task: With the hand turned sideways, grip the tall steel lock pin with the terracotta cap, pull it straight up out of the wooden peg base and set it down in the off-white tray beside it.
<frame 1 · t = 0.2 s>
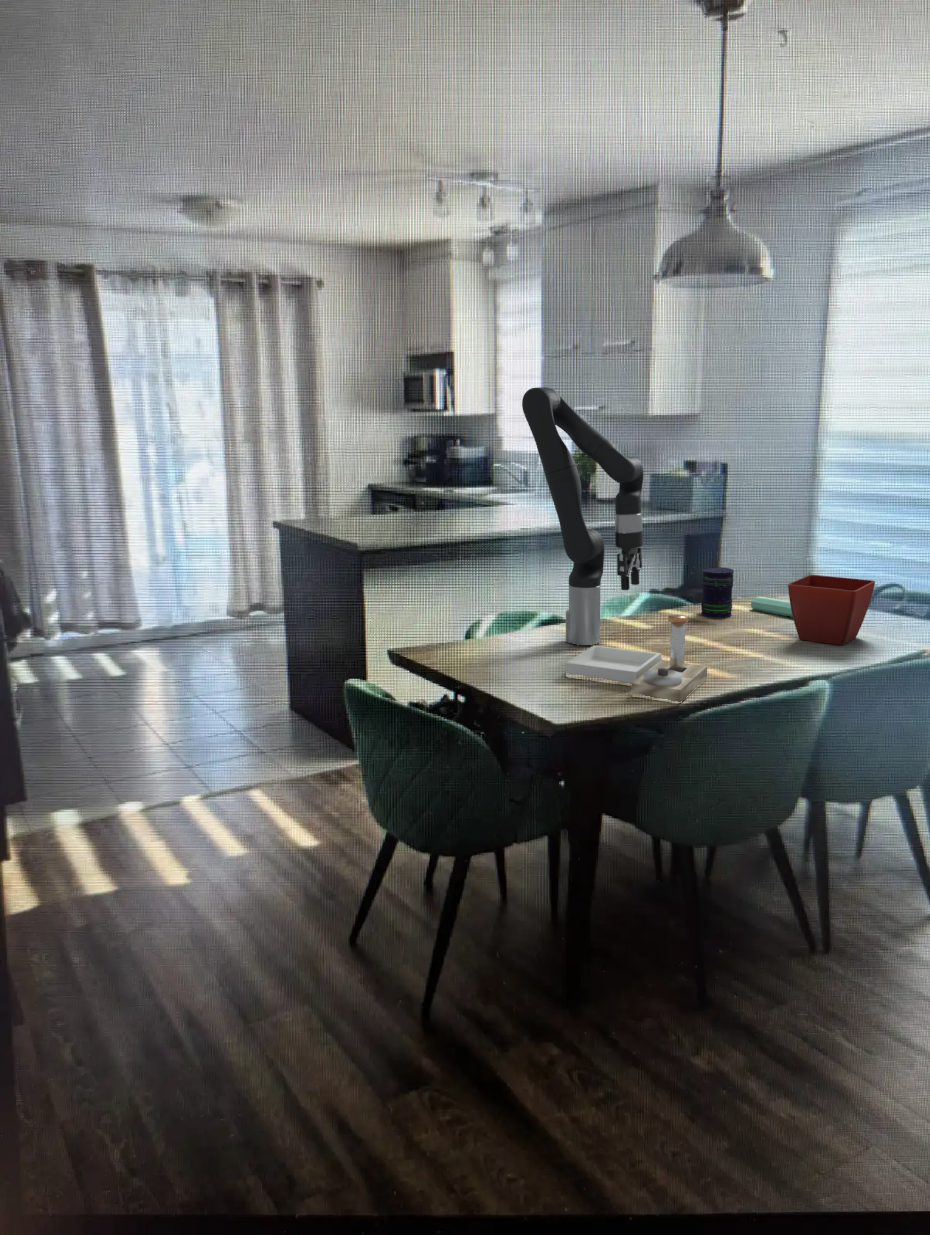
hand: (630, 587, 258), 18 cm above the table, tool pointing down, fingers open, 8 cm apart
mint green rod: (785, 616, 297), on the table
wooden peg base: (676, 682, 229), on the table
storage jar: (716, 615, 299), on the table
plant pot: (827, 639, 268), on the table
tray: (613, 672, 239), on the table
lock pin: (676, 682, 229), resting in wooden peg base
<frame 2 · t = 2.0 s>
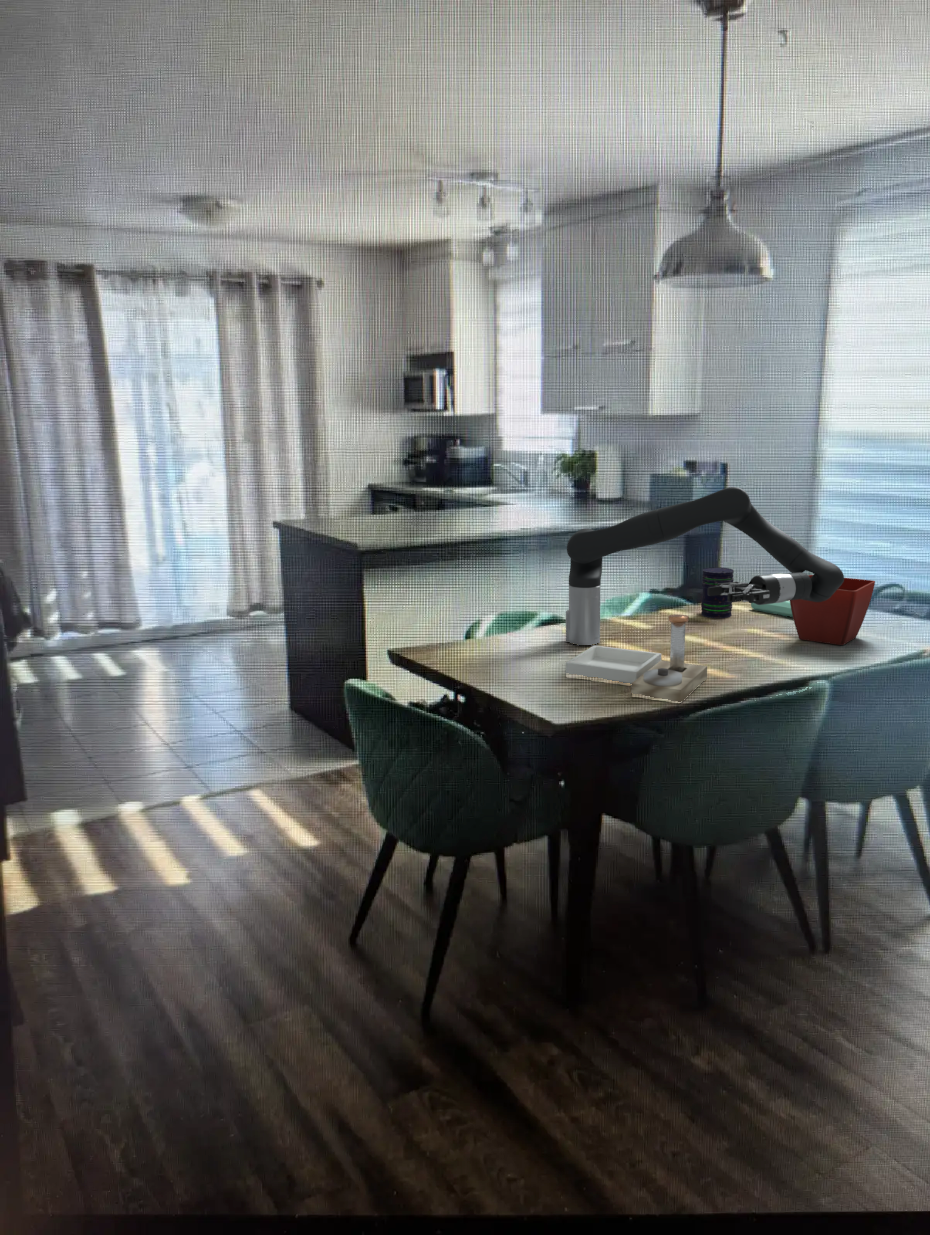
hand: (718, 594, 228), 21 cm above the table, tool horizontal, fingers open, 8 cm apart
nothing on the table moved.
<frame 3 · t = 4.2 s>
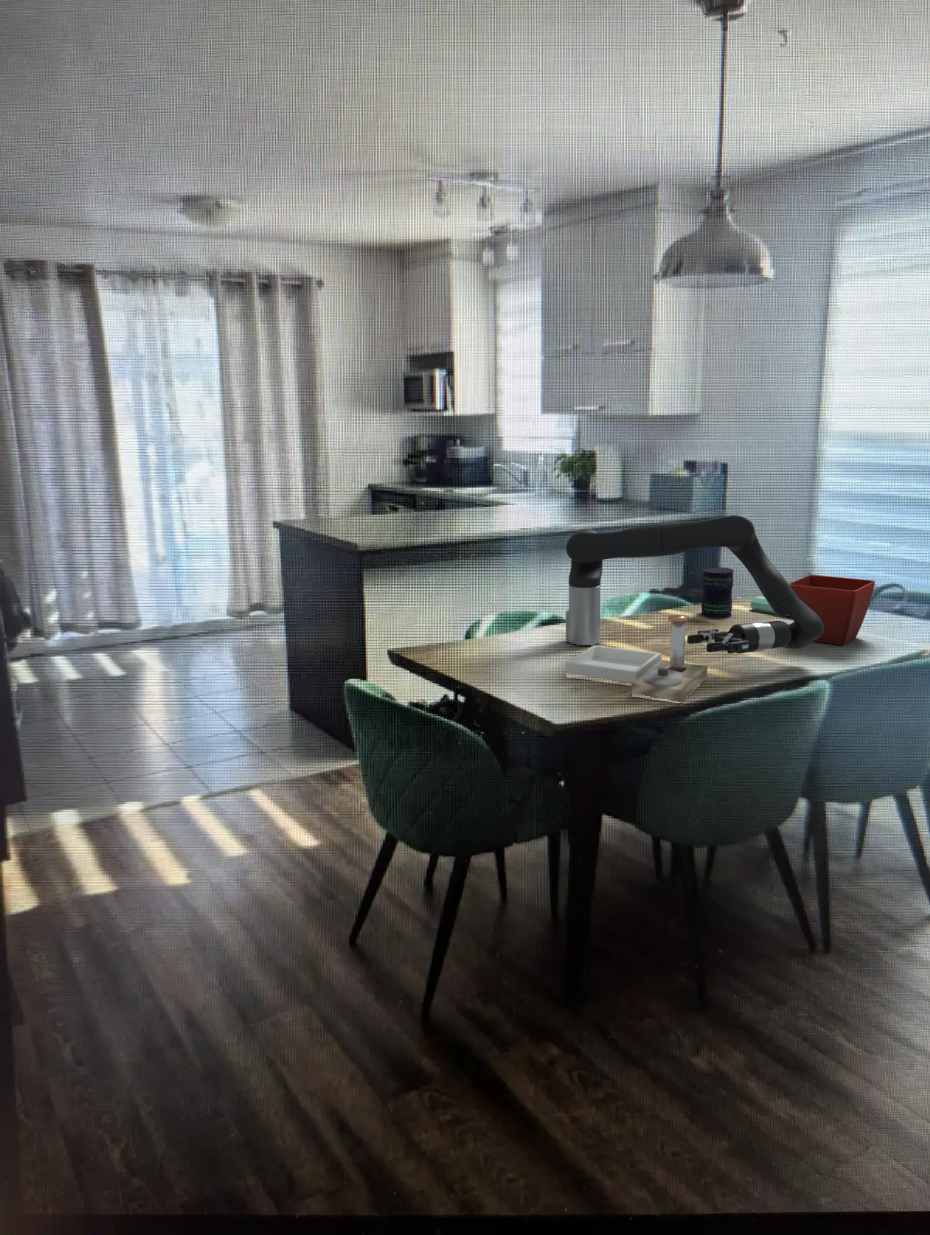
hand: (697, 643, 229), 9 cm above the table, tool horizontal, fingers open, 8 cm apart
nothing on the table moved.
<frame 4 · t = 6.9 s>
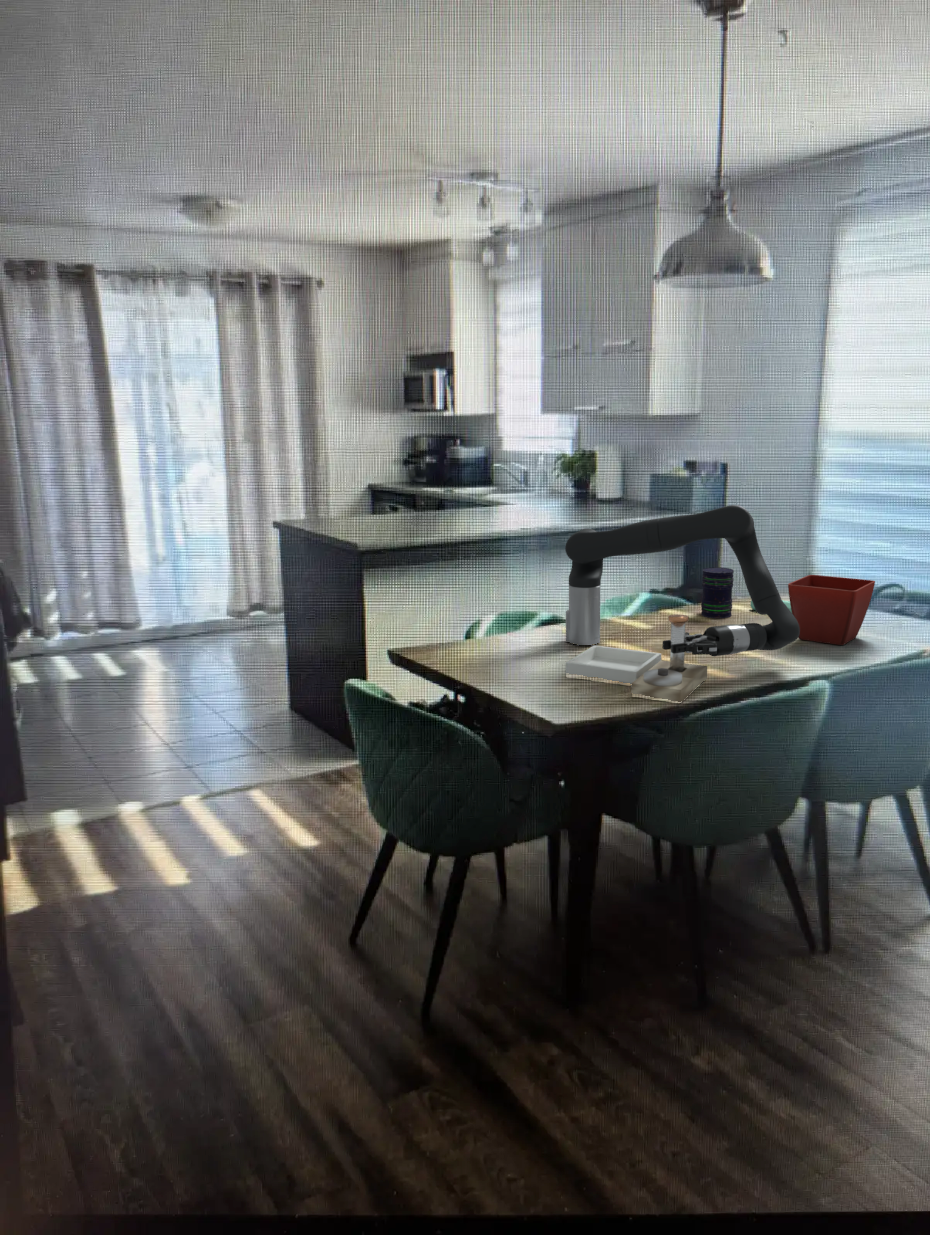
hand: (667, 647, 226), 10 cm above the table, tool horizontal, fingers closed on lock pin, 3 cm apart
lock pin: (676, 682, 229), resting in wooden peg base, touching gripper
everything else where it was.
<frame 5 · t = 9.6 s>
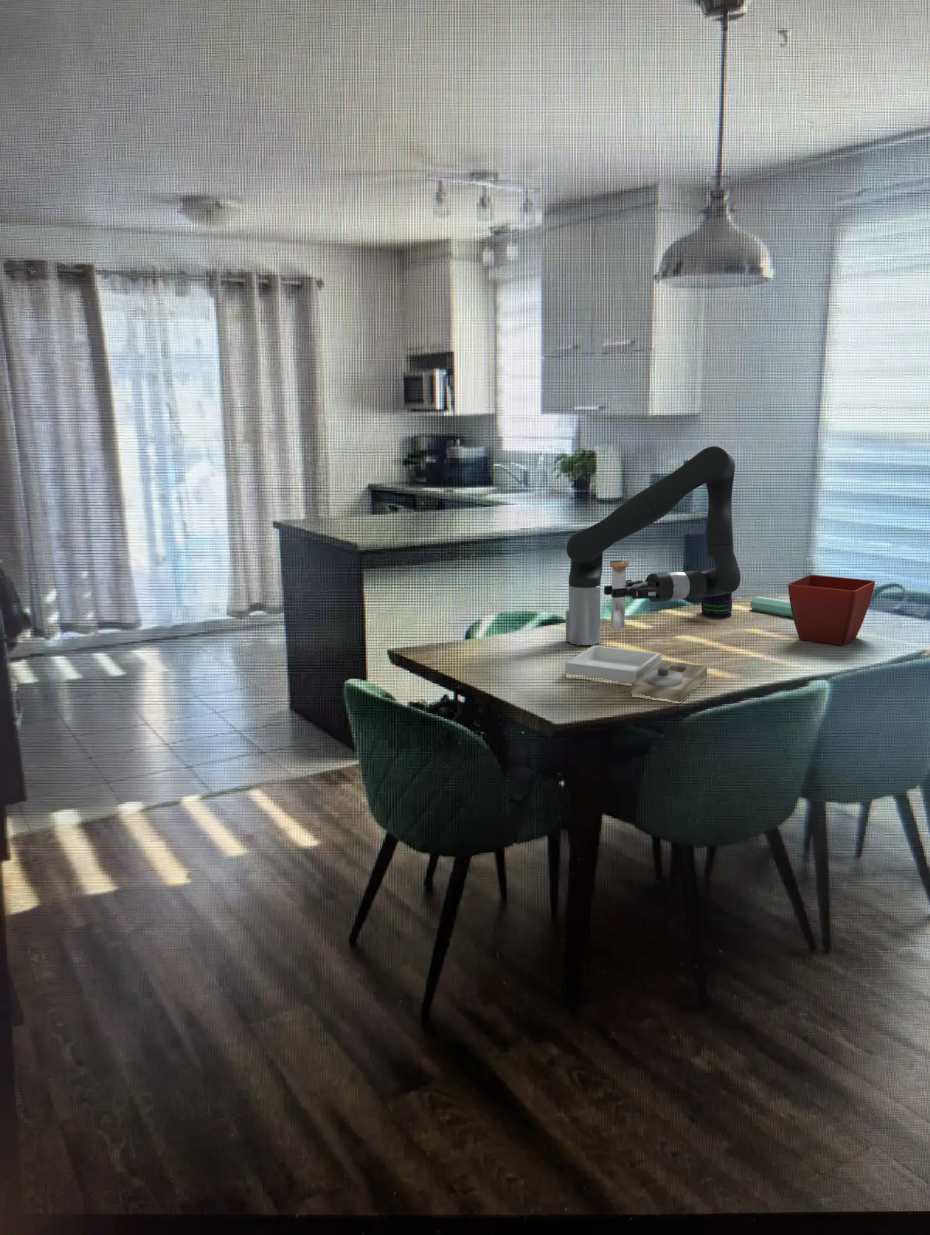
hand: (608, 592, 232), 22 cm above the table, tool horizontal, fingers closed on lock pin, 3 cm apart
lock pin: (617, 627, 235), point 12 cm above the table, touching gripper
everything else where it was.
when the fingers open (12 cm above the table, at t = 12.4 s): lock pin drops 1 cm, resting on tray.
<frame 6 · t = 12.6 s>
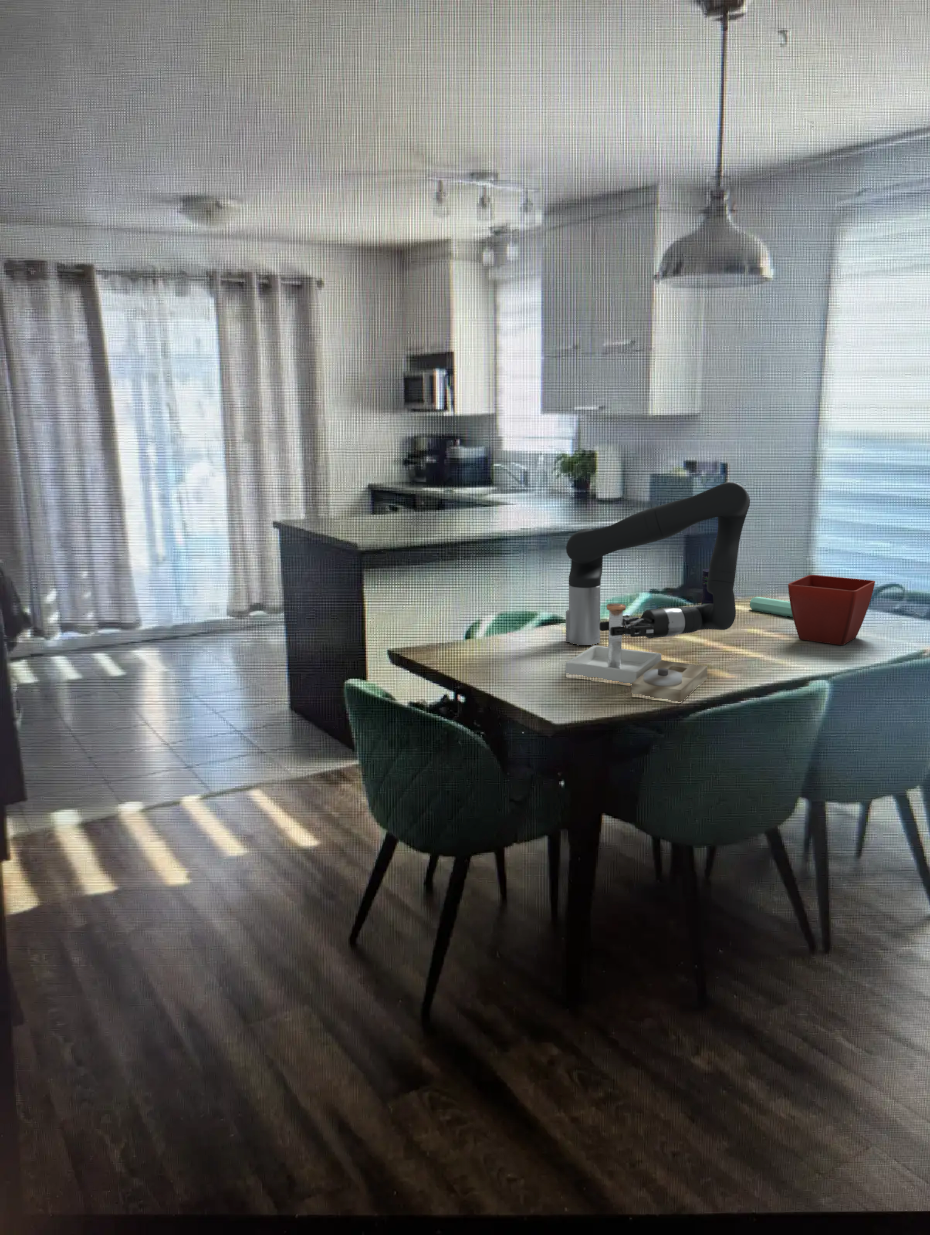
hand: (605, 629, 235), 12 cm above the table, tool horizontal, fingers open, 5 cm apart
lock pin: (614, 668, 238), point 1 cm above the table, touching tray
everything else where it was.
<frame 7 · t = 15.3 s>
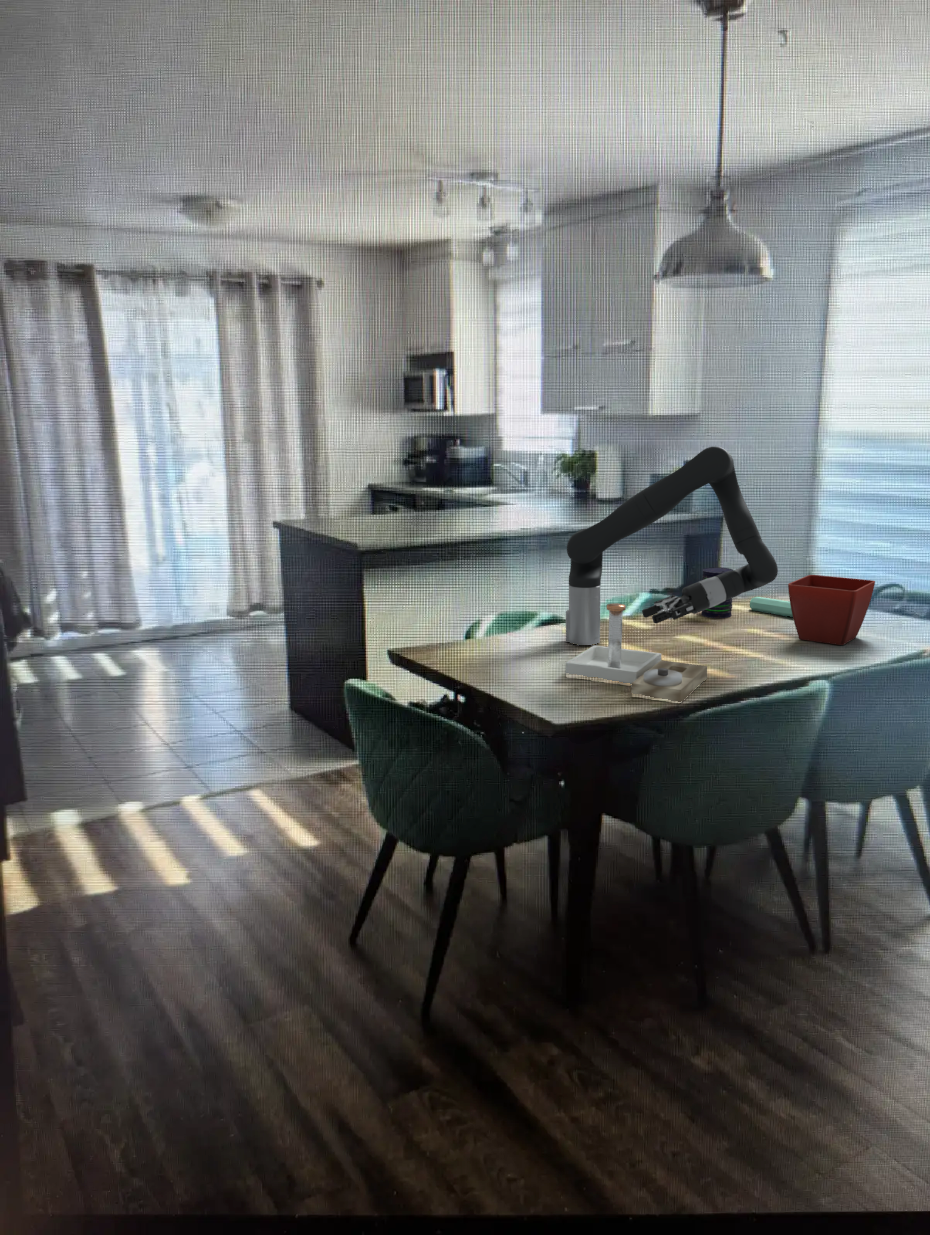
hand: (648, 617, 241), 13 cm above the table, tool tilted 70°, fingers open, 8 cm apart
nothing on the table moved.
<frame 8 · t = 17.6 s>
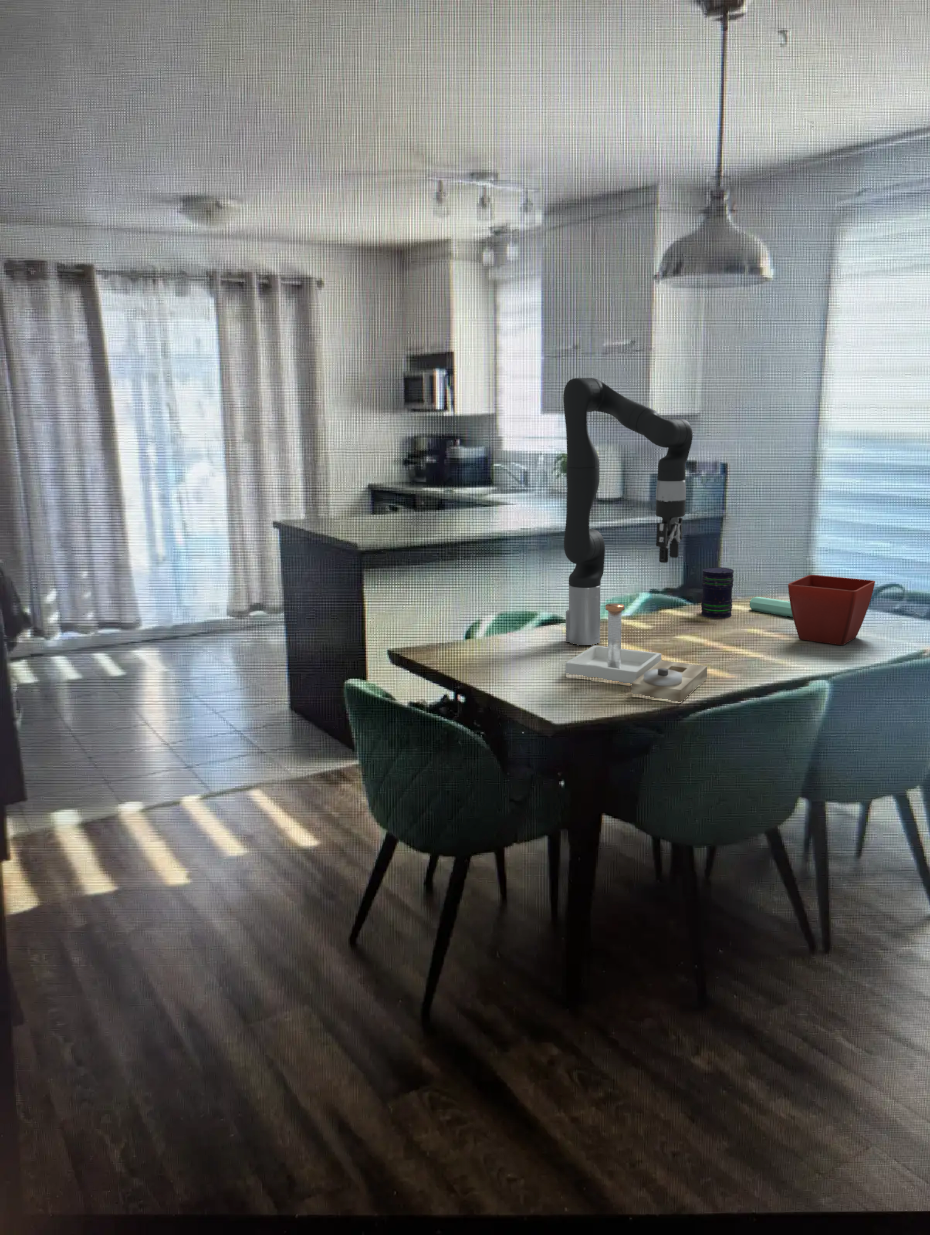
hand: (668, 559, 240), 28 cm above the table, tool pointing down, fingers open, 8 cm apart
nothing on the table moved.
at the end: lock pin inside the target area on the tray (0.1 cm from its centre), point 1.0 cm above the tray's base; the gripper is holding nothing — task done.
